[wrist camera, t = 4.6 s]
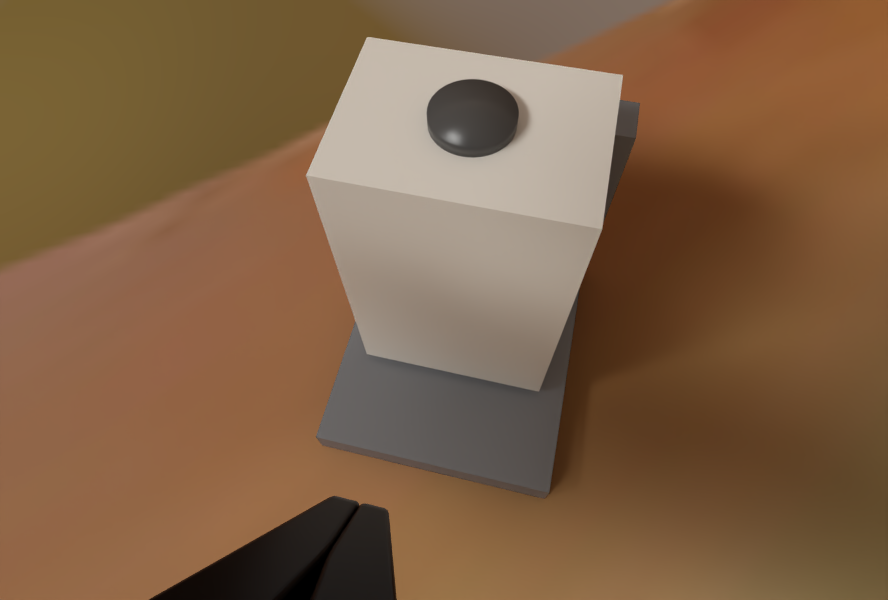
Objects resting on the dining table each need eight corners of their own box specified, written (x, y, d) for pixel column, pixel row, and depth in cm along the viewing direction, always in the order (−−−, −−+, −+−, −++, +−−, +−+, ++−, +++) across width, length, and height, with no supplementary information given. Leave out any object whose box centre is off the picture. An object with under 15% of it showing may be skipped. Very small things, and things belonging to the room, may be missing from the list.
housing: (544, 498, 18) (603, 426, 11) (322, 445, 19) (243, 346, 12) (579, 267, 22) (640, 102, 15) (393, 231, 23) (366, 60, 16)
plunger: (539, 391, 18) (605, 219, 10) (366, 353, 19) (302, 164, 11) (557, 282, 20) (627, 63, 12) (399, 251, 21) (365, 24, 13)
